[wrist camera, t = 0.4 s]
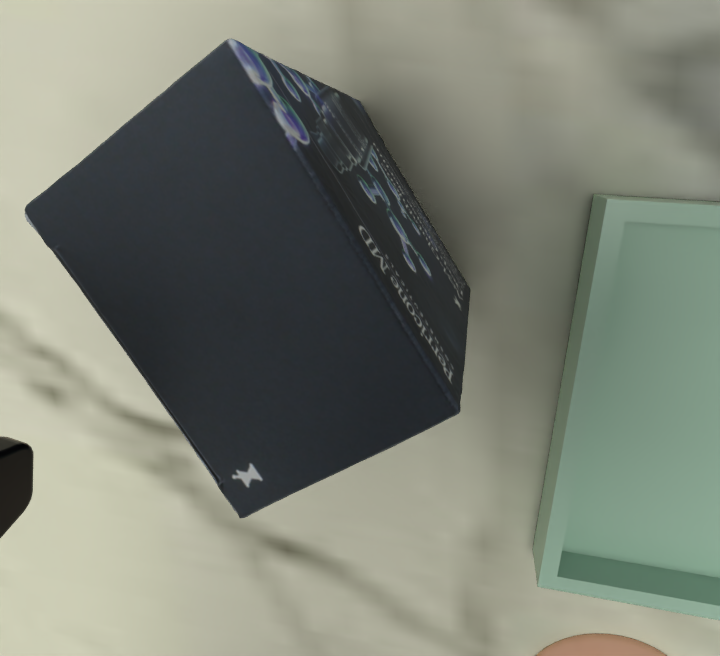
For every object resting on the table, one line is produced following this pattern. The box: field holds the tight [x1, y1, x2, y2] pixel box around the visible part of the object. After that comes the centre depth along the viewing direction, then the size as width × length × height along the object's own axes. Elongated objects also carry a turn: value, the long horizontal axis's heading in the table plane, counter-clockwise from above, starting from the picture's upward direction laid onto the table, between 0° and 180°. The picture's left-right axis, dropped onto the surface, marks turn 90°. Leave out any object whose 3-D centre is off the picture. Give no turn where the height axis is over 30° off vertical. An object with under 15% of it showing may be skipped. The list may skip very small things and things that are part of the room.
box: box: [25, 39, 470, 518], centre depth 15 cm, size 8×6×11 cm
